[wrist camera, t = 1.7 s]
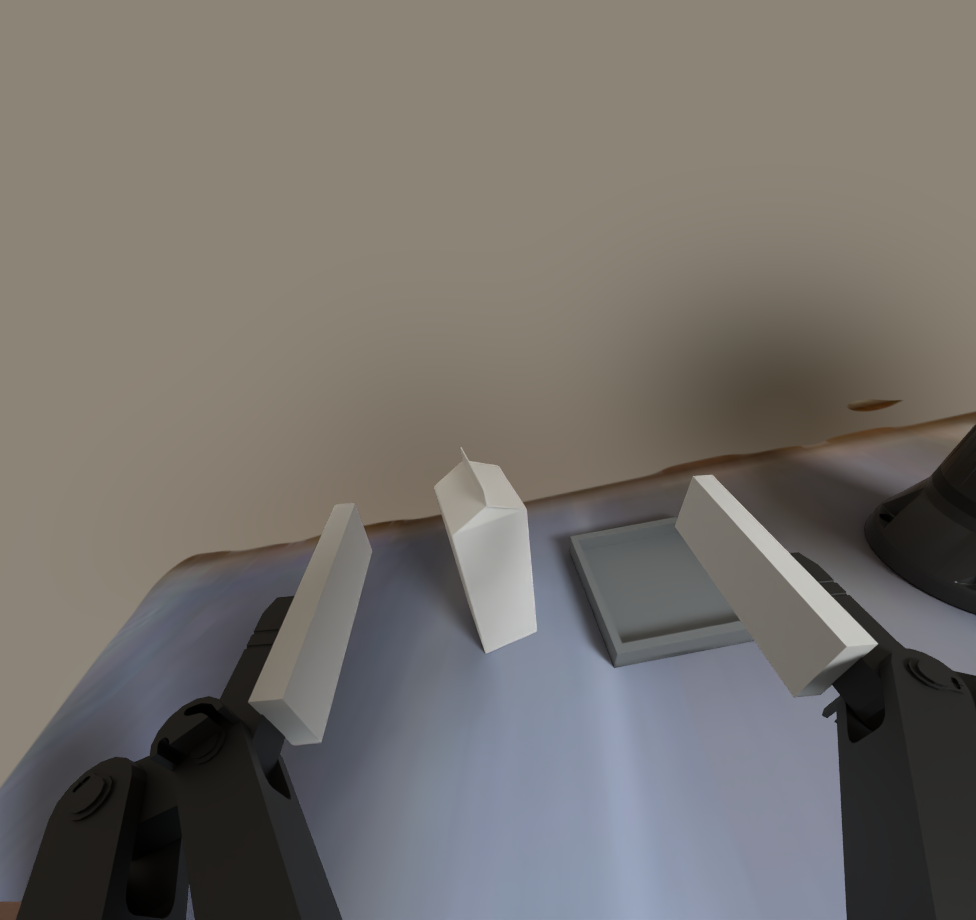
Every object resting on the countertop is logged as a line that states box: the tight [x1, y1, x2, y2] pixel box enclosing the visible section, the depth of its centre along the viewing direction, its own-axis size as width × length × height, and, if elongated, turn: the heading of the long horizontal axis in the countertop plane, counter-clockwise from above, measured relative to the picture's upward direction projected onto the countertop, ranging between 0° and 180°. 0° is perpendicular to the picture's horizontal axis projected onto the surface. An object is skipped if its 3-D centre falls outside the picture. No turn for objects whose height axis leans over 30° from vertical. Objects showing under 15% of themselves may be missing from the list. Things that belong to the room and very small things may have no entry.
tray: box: [570, 517, 754, 668], centre depth 39 cm, size 16×14×3 cm
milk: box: [434, 447, 537, 654], centre depth 32 cm, size 6×6×22 cm
